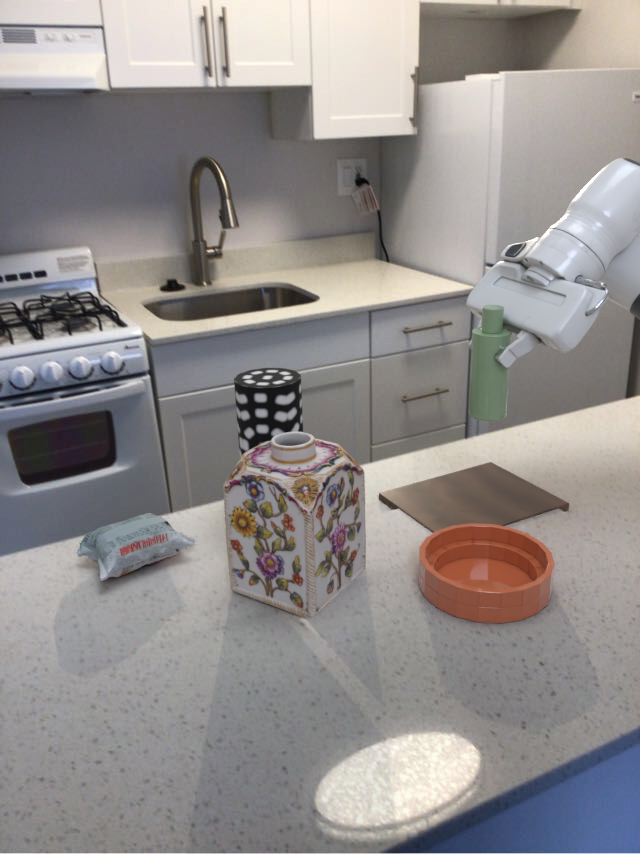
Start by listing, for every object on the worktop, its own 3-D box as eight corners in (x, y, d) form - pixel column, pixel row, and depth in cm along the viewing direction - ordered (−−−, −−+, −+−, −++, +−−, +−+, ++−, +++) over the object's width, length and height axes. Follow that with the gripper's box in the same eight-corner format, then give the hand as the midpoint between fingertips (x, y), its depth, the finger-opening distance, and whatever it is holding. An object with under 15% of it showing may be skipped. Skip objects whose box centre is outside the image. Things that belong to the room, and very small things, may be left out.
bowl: (491, 544, 93) (493, 512, 92) (579, 603, 82) (583, 567, 80) (393, 577, 87) (394, 543, 86) (473, 646, 75) (475, 608, 74)
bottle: (489, 405, 100) (495, 301, 95) (514, 416, 96) (521, 308, 91) (460, 412, 98) (465, 306, 93) (484, 423, 94) (490, 313, 89)
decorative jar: (313, 625, 79) (307, 469, 73) (227, 593, 85) (214, 446, 79) (369, 571, 89) (368, 429, 82) (288, 546, 95) (281, 411, 88)
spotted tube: (253, 504, 106) (243, 367, 98) (311, 507, 104) (306, 368, 97) (237, 533, 98) (225, 387, 91) (300, 537, 97) (293, 388, 89)
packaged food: (196, 560, 92) (192, 524, 90) (102, 595, 86) (96, 557, 84) (165, 533, 99) (161, 499, 97) (76, 564, 92) (70, 528, 91)
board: (490, 467, 115) (490, 461, 114) (569, 509, 101) (569, 503, 101) (378, 499, 106) (378, 492, 106) (448, 549, 93) (448, 542, 92)
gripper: (630, 303, 86) (550, 396, 87) (526, 274, 104) (460, 351, 105) (602, 267, 83) (519, 363, 84) (500, 243, 101) (432, 323, 102)
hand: (486, 356), depth 94 cm, fingers closed on bottle, 5 cm apart
